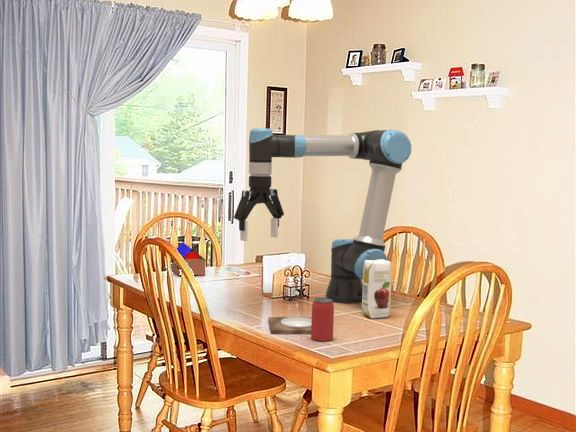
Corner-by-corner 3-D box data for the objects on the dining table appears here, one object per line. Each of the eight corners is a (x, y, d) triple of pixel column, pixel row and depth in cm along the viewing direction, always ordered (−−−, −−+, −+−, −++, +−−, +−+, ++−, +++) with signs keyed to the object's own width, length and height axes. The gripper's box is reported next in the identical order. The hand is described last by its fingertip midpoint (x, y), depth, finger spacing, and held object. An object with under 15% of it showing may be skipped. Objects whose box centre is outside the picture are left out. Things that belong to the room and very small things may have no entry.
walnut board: (323, 320, 226) (323, 317, 225) (329, 334, 210) (329, 330, 210) (268, 320, 224) (268, 316, 224) (270, 334, 208) (271, 330, 208)
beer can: (309, 335, 207) (310, 297, 206) (331, 335, 208) (332, 297, 207) (312, 342, 201) (313, 302, 200) (334, 342, 202) (335, 302, 200)
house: (178, 276, 294) (178, 249, 293) (169, 268, 313) (170, 242, 311) (205, 275, 298) (206, 248, 297) (195, 267, 317) (196, 242, 316)
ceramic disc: (313, 319, 223) (313, 317, 223) (317, 328, 212) (317, 326, 212) (279, 318, 222) (279, 317, 222) (281, 328, 211) (282, 326, 211)
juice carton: (359, 313, 236) (361, 259, 234) (380, 312, 239) (382, 258, 237) (370, 319, 229) (372, 263, 227) (392, 317, 232) (394, 262, 230)
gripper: (279, 173, 238) (278, 234, 240) (223, 175, 221) (223, 240, 223) (294, 175, 233) (293, 236, 235) (238, 176, 215) (237, 243, 218)
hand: (259, 238), depth 229 cm, fingers open, 13 cm apart
